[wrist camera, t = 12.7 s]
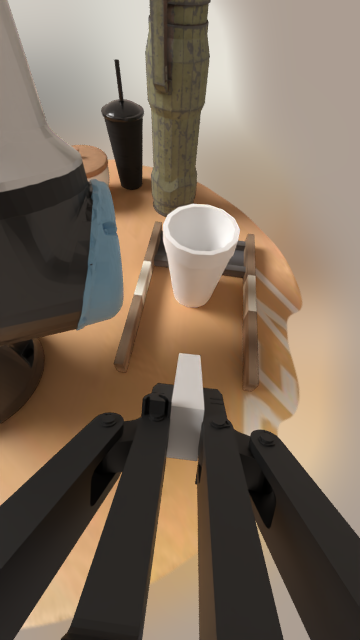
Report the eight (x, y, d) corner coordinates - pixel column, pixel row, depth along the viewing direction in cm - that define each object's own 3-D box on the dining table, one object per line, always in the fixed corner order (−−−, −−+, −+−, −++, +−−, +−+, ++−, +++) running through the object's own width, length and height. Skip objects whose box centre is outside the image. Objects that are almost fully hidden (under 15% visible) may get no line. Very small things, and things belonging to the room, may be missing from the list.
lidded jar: (80, 178, 56) (66, 130, 48) (122, 189, 55) (115, 142, 47) (53, 204, 51) (31, 156, 43) (99, 217, 50) (86, 169, 42)
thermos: (143, 216, 50) (111, -149, 20) (163, 186, 56) (159, -132, 26) (184, 227, 49) (214, -142, 19) (199, 194, 55) (240, -126, 25)
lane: (251, 391, 33) (258, 385, 30) (117, 371, 34) (113, 363, 31) (249, 247, 47) (254, 234, 45) (155, 234, 48) (155, 221, 45)
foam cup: (226, 311, 39) (250, 250, 28) (170, 320, 38) (171, 259, 27) (210, 267, 44) (226, 201, 33) (160, 274, 43) (158, 206, 32)
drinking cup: (115, 194, 54) (91, 67, 37) (114, 175, 58) (92, 52, 41) (150, 192, 55) (142, 68, 38) (146, 173, 59) (138, 53, 42)
